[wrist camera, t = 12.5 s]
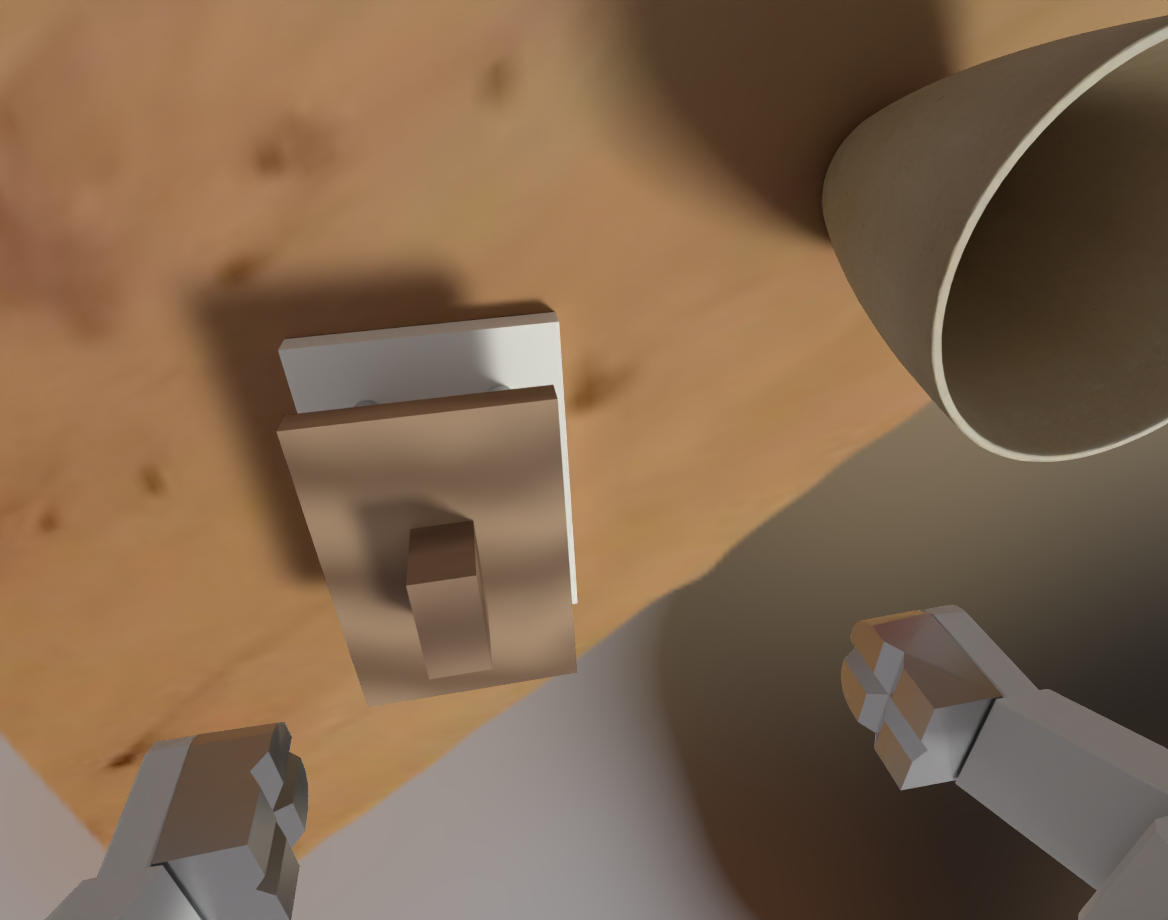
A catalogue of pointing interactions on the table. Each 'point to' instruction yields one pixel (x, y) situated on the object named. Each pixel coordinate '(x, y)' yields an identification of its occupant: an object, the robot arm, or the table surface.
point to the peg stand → (431, 369)
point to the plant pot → (1022, 241)
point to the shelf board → (439, 487)
